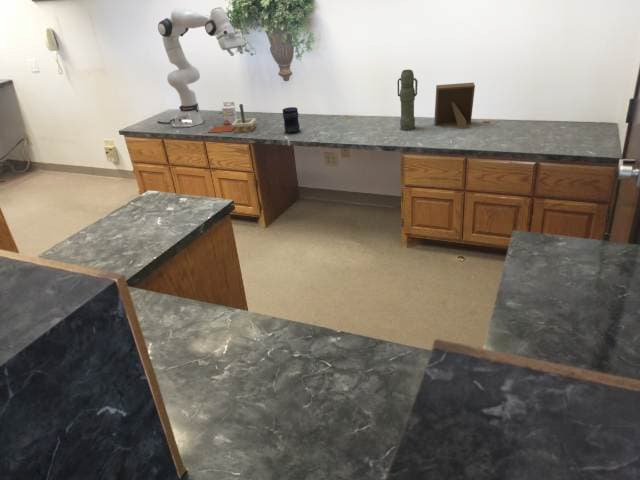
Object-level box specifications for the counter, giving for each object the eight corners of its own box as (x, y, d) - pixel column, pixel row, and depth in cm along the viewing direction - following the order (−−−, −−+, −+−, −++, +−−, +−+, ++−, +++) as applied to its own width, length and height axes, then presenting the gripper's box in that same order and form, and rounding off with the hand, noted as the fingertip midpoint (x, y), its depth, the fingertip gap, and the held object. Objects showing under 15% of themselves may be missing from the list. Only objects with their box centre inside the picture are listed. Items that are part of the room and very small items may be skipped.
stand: (234, 132, 343) (229, 106, 335) (238, 127, 353) (234, 102, 345) (251, 131, 341) (247, 105, 333) (255, 126, 352) (251, 101, 343)
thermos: (416, 130, 311) (416, 71, 295) (397, 130, 314) (396, 72, 298) (417, 126, 319) (418, 68, 302) (399, 126, 322) (398, 69, 305)
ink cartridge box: (224, 124, 364) (220, 103, 357) (226, 122, 369) (222, 102, 362) (236, 123, 363) (232, 103, 356) (237, 122, 367) (234, 101, 361)
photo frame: (434, 123, 320) (435, 83, 308) (469, 121, 318) (471, 80, 306) (437, 130, 307) (438, 88, 295) (474, 128, 305) (476, 85, 293)
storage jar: (291, 129, 338) (289, 106, 331) (303, 130, 332) (300, 107, 325) (281, 133, 331) (279, 110, 324) (293, 134, 326) (290, 111, 319)
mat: (208, 132, 348) (208, 132, 348) (214, 127, 360) (214, 126, 360) (231, 131, 346) (231, 131, 346) (236, 125, 358) (236, 125, 358)
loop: (231, 127, 340) (231, 124, 339) (236, 121, 352) (236, 119, 351) (251, 126, 338) (251, 123, 338) (255, 120, 350) (255, 118, 349)
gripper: (235, 34, 327) (244, 54, 330) (213, 37, 312) (224, 59, 314) (241, 29, 323) (251, 50, 326) (220, 32, 308) (230, 54, 311)
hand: (237, 54), depth 320 cm, fingers open, 8 cm apart
